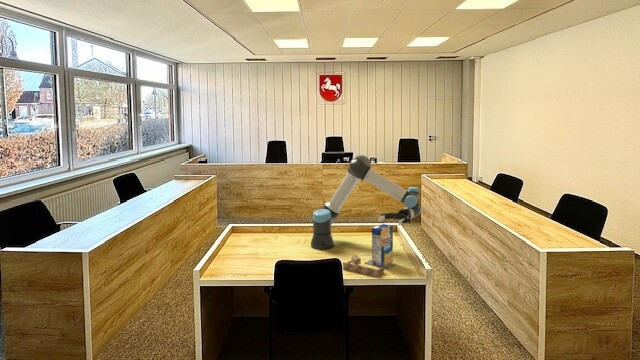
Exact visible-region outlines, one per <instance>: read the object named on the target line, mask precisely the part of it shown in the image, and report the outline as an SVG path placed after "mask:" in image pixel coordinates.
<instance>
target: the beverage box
mask: <svg viewBox="0 0 640 360" xmlns="http://www.w3.org/2000/svg"><path fill="white" fill-rule="evenodd" d="M393 233H394V225H389V224H385V223H382V224H379V225H376V226H373V227H371V260H372V264H373V265H376V266H375V267H378V266H380V267H379V268H382V266H385V265H387V264H393V262H394V261H393V260H394V259H393V258H394V256H393V255H394V254H393V253H394V245H393V244H394V241H393V240H394V235H393ZM373 265H372V266H373Z"/></svg>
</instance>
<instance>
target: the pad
mask: <svg viewBox="0 0 640 360" xmlns="http://www.w3.org/2000/svg"><path fill="white" fill-rule="evenodd" d="M363 263H364V264H365V265H370V266H375V267H379V268H382V267H384V269H391V268H393V266H395V264H394V263H390V264H387V265H385V266H382V267H380V266H376V265H373V264H372V259H369V260H368V261H365V262H363Z"/></svg>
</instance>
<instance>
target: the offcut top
mask: <svg viewBox="0 0 640 360" xmlns="http://www.w3.org/2000/svg"><path fill="white" fill-rule="evenodd" d="M351 261H352V262H354V263H355V264H359V265H361V262H362V259H361V257H359V256H358V255H356V254H355V255H351Z"/></svg>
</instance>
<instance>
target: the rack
mask: <svg viewBox="0 0 640 360" xmlns="http://www.w3.org/2000/svg"><path fill="white" fill-rule="evenodd" d="M351 262H352V260H348V261H347V262H345V261H344V262H342V269H343V270H344V271H348V272H353V273H356V274H363V275H367V276H370V277H375V278H376V277H379V276H381V275H382V274H383V273H384V272H385V268H384V267H379V268H378V269H377V268H373V267H369V266H368V267H367V266H365V265H364V266H363V265H361V264H359V265H355V264H350V263H351Z"/></svg>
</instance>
